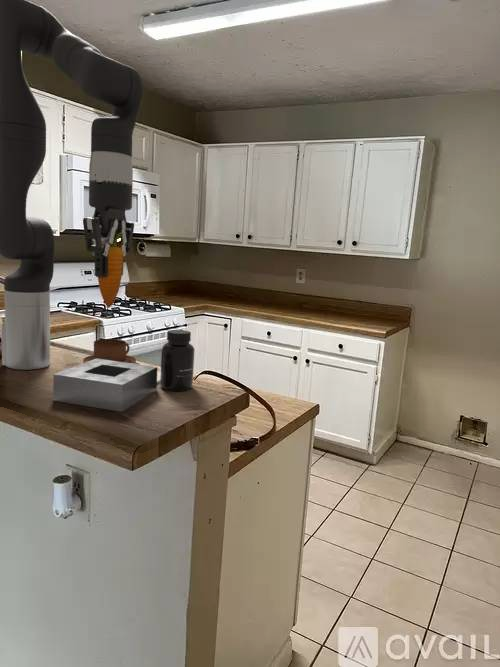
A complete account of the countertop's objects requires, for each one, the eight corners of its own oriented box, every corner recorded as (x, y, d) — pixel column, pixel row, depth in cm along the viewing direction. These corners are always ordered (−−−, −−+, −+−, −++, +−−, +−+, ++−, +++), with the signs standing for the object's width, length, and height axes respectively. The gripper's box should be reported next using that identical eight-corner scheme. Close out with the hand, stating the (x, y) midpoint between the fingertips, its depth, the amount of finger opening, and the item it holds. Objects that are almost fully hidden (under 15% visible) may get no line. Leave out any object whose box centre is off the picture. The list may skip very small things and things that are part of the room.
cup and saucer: (99, 359, 122) (99, 335, 121) (143, 364, 120) (144, 340, 119) (72, 370, 110) (72, 344, 109) (121, 376, 108) (122, 349, 107)
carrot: (115, 305, 95) (117, 226, 92) (127, 308, 91) (129, 227, 89) (90, 305, 92) (91, 224, 89) (101, 309, 88) (103, 225, 85)
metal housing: (53, 400, 90) (53, 374, 89) (95, 381, 103) (96, 358, 102) (121, 411, 86) (122, 384, 85) (156, 390, 100) (157, 366, 99)
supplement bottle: (186, 393, 99) (189, 336, 97) (154, 389, 100) (156, 332, 98) (196, 384, 106) (199, 330, 103) (167, 380, 107) (169, 327, 105)
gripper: (113, 185, 95) (111, 273, 98) (68, 174, 81) (68, 276, 85) (148, 187, 93) (145, 276, 96) (108, 176, 80) (106, 280, 83)
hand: (109, 275), depth 90 cm, fingers closed on carrot, 5 cm apart
